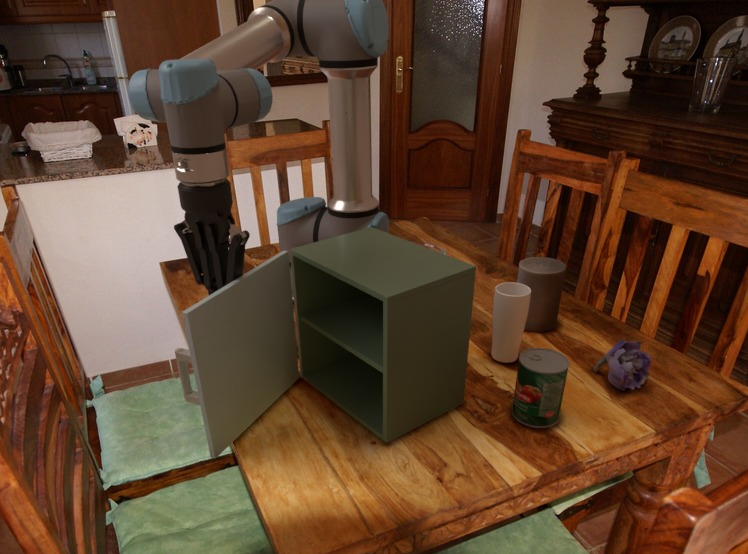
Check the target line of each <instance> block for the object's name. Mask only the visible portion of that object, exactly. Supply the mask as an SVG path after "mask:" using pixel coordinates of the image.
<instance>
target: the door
mask: <svg viewBox="0 0 748 554" xmlns="http://www.w3.org/2000/svg"><path fill="white" fill-rule="evenodd" d="M181 314H182V320H183V324H184V329H185V335H186V340H187V345H188V349H187V348H183V347H178V348H176V349H174V355H175V360H176V364H177V365H176V366H177V370H178V374H179V379H180V385H181V388H182V393H183V398H184V401H185V402H186V403H189V404H193V405H197V406H200V412H201V416H202V420H203V425H204V427H203V428H204V432H205V436H206V440H207V447H208V451H209V457H210V458H211V459H217V458H218V457H219V456H220V455H221V454H222V453H224V451H225V450H227V448H229V447H230V446H231V444H232V443H234V442H235V441H236V440H237V439H238V438H239V437H240V436H241V435H242V434H243V433H244V432H245V431H246V430H247V429H248V428H249V427H250V426H252V424H253V423H255V421H256V420H257V419H259V417H261V416H262V415H263V413H265V412H266V411H267V410H268V409H269V408H270V407H271V406H272V405H273V404H274V403H275V402H277V400H279V398H280V397H281V396H282V395H283V394H284V393H286V392H287V391H288V390H289V389H290V387H292V386H293V385H294V384H295V383H296V382H297V381H298V380H299V379H300V369H299V358H298V356H297V347H296V336H295V324H294V321H295V312H294V303H293V301H292V289H291V278H290V266H289V255H288V251H282V252H280V251H279V253H277V254H275V255H274V256H271V257H270V258H268V259H267V260H265V261H264V262H262V263H260V264H259V265H256V266H255V267H254V268H252V269H250V270H249V271H247V272H245V273H243V275H242V276H241V277H239V278H237V279H236V280H234V281H232V282H231V283H229V284H227V285H226V286H224V287H222V288H221V289H219V290H217V291H216V292H214V293H213V294H211V295H209V294H208V296H206V297H204V298H203V299H201V300H199V301H198V302H196V303H194V304H193V305H191V306H189V307H187V308H186V309H185V310H183V311H182V312H181ZM188 364H191V366H192V371H193V375H194V380H195V385H196V390H197V391H195V390H193V388H192V387H193V386H192V382H191V377H190V373H189V371H190V370H189V367H188Z"/></svg>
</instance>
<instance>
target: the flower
mask: <svg viewBox="0 0 748 554" xmlns="http://www.w3.org/2000/svg"><path fill="white" fill-rule="evenodd" d="M643 343H644V341H643V340H634V341H632V340H631V341H626V340H624V339H621V340H619V341H617V343H615V345H613V346H612V347H611V348H610V349H609V350H608V351H607V352H606V353H605V354H604V355H603V356H602V357H601V358H600V360H598V362H596V364H595V366H594V367H593V372H594V373H597V372H599V369H601V367H602V366H604V365H608V368H609V371H608V373H607V380H608V382H609V383H610V384H611V385H612V386H613V387H614V388H615V389H617V390H618V391H626V389H630V390H632V391H633V390H636V389H641V388H642V386H641V385H644V384H645V383H646V380H649V378H650V373H649V369H650V367H651V365H652V358H651V354H649V353H647V352H645V351H642V350H640V348H641V347H642V346H641V344H643ZM635 388H636V389H635Z"/></svg>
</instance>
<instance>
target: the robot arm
mask: <svg viewBox="0 0 748 554" xmlns="http://www.w3.org/2000/svg"><path fill="white" fill-rule="evenodd" d="M389 27H390V26H389V18H388V13H387V9H386V6H385V3H384V1H383V0H270V1H268V2H267V3H265V4H263V5H261V6H259V7H257V8H255V9H254V10H252V11H251V13H250V14H249V16H248V18H247V21H245V22H243V23H242V24H240V25H238V26H236V27H234V28H233V29H231V30H229V31H227V32H225V33H224V34H221V35H220V36H219V37H216V38H215V39H213V40H211V41H209V42H207V43H206V44H204V45H202V46H200V47H199V48H197V49H194V50H193V51H191V52H190V53H187V54H186V55H185V56H183V57H181V58H178V59H167V60H164V61H162V62H161V63H160V64H159V67H158V68H157V69H155V68H150V67H149V68H147V69H140V70H137V71H136V72H134V73H133V74H132V76H131V77H130V79H129V82H128V88H127V93H128V99H129V102H130V105H131V107H132V109H133V111H134V113H136V114H137V116H138V117H140V118H141V119H143V120H146V121H153V122H157V123H158V124H159V123H160V124H164V123H166V127H167V131H168V132H167V133H168V137H169V143H170V150H171V156H172V162H173V167H174V173H175V178H176V180H177V181H178V182H179V183H178V185H177V187H176V188H177V192H178V197H179V198H178V199H179V204H180V208H181V209H182V210H183V211H184V216H183V217H184V220H183V221H181V222H179V223H176V224H174V226H173V229H174V231H175V233H176V235H177V236H178V238H179V239H180V241H181V244H182V246H183V250H184V253H185V255H186V258H187V261H188V264H189V266H190V269H191V272H192V274H193V277H194V280H195V282H196V284H197V285H199V286H201V285H203V286H204V288H205V290H206V291H207V292H208V296H209V295H211V294H213V293H214V292H216V291H217V290H219V289H221V288H222V287H224V286H226V285H227V284H229V283H231V282H232V281H234V280H236V279H237V278H239V277H241V276H242V275H244V265H245V254H246V245H247V243H248V241H249V239H250V236H251V234H250V232H249V231H248V230H247V229H244V230H241V229H240V228H239V227H238V226H237V225H236V221H235V218H234V216H233V214H232V208H233V207H232V206H233V204H234V200H233V192H232V184H231V181H230V180H229V179H228V177H230V175H231V173H230V167H229V159H228V151H227V146H226V136H225V131H226V130H229V129H234V128H237V127H241V126H245V125H253V124H254V123H256V122H258V121H260V120H263V119H264V118H265V117H267V116H268V115H269V113H270V111H271V109H272V107H273V106H272V105H273V100H274V99H273V96H274V95H273V90H272V87H271V83H270V82H269V80H268V79H267V77H266V76H265V75H264V74H263V73H262V72H260V71H259V69H261V68H262V67H263V66H266V64H268V63H271V64H273V63H274V64H276V63H280V62H282V61H284V60H285V59H287V58H295V57H312V58H317V57H318V62H319V63H318V66H319V69H320V71H321V72H322V73H323V74H324V75H325V76H326V78H327V94H328V110H329V111H328V113H329V114H328V115H329V129H330V130H329V131H330V133H329V134H330V147H331V148H330V149H331V151H330V152H331V168H332V171H331V172H332V188H333V189H332V190H333V196H332V197H331V199H330V200H329V201H328V202H326V201H325V200H326V199H324V198H323V197H321V196H308V197H307V196H306V197H301V198H295V199H291V200H289V201H285V202H284V203H281V204H280V205H279V206H278V208H277V209H276V226H277V235H278V245H279V253H280V252H282V251H288V255H289V266H290V278H291V289H292V301H293V304H294V293H293V281H292V270H291V258H290V249H291V248H295V247H299V246H303V245H306V244H310V243H314V242H318V241H321V240H325V239H329V238H333V237H336V236H340V235H344V234H348V233H351V232H355V231H359V230H363V229H366V228H370V227H373V228H376V229H378V230H381V231H384V232H386V233H389V230H390V220H389V217H388V214H386V213H384V212H383V211H380V201H379V200H378V199H377V198H376V196H374V195H373V161H372V159H373V157H372V155H373V154H372V150H373V149H372V100H371V99H372V97H371V96H372V94H371V91H372V90H371V76H372V74H374V71H375V70H377V68H379V67H378V66H379V61H378V60H379V58H380V57H383V56H384V55H385V53H386V51H387V49H388V42H389V39H390V38H389V37H390V28H389Z"/></svg>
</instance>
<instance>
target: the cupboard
mask: <svg viewBox="0 0 748 554" xmlns="http://www.w3.org/2000/svg"><path fill="white" fill-rule="evenodd" d="M290 258H291V270H292V281H293V293H294V303H293V306H294V318H295V322H296V329H297V340H298V352H299V356H298V365H299V376H300V378H301V379H302V380H304V381H305V382H306V383H307V384H309V385H311V386H312V387H313V388H314V389H315V390H317V391H318V392H320V393H321V395H323V396H325V397H326V398H327V399H328V400H330V401H331V402H332V403H334V404H335V405H336V406H337V407H339V408H340V409H342V410H343V411H344V412H345V413H347V414H348V415H349V416H350V417H352V418H353V419H354V420H356V421H357V422H358V423H359V424H361V425H362V426H363V427H365V428H366V429H367V430H368V431H370V432H371V433H373V434H374V435H375V436H376V437H378V438H379V439H381V440H382V442H384V443H386V444H388V443H390V442H392V441H394V440H396V439H398V438H400V437H401V436H404V435H405V434H408V433H409V432H411V431H413V430H416V429H417V428H418V427H421V426H422V425H424V424H426V423H429V422H430V421H433V420H435V419H436V418H438V417H440V416H442V415H444V414H445V413H448V412H450V411H451V410H453V409H455V408H457V407H459V406H461V405H463V404H464V403H465V393H466V381H467V371H468V363H469V361H468V359H469V349H470V338H471V327H472V315H473V304H474V293H475V282H476V271H477V265H474V264H471V263H468V262H465V261H463V260H461V259H457V258H455V257H452V256H450V255H447V254H445V253H442V252H439V251H436V250H434V249H431V248H429V247H426V246H424V245H421V244H418V243H415V242H413V241H410V240H407V239H404V238H402V237H399V236H397V235H394V234H391V233H389V232H388V233H386V232H384V231H381V230H378V229H376V228H373V227H370V228H366V229H363V230H359V231H355V232H351V233H348V234H344V235H340V236H336V237H333V238H329V239H325V240H321V241H318V242H314V243H310V244H306V245H303V246H299V247H295V248H291V249H290Z"/></svg>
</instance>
